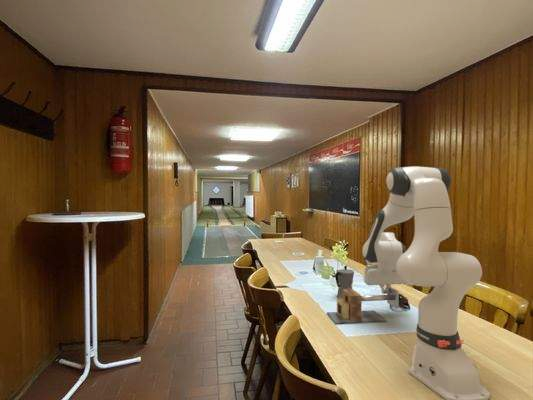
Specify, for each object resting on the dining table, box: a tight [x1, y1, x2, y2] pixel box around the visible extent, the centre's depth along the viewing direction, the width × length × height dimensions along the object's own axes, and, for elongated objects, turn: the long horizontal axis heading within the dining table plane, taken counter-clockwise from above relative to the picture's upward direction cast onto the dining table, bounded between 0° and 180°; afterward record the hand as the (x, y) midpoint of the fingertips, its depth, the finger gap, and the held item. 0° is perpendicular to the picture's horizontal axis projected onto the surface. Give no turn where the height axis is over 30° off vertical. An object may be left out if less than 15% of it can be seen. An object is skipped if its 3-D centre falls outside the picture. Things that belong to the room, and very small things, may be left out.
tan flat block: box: [336, 297, 349, 320], centre depth 142 cm, size 3×7×7 cm, turn 7°
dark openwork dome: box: [388, 293, 411, 310], centre depth 158 cm, size 12×10×8 cm
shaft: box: [361, 286, 400, 310], centre depth 144 cm, size 20×8×8 cm, turn 97°
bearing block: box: [326, 288, 387, 325], centre depth 143 cm, size 24×12×12 cm, turn 97°
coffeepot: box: [334, 265, 355, 299], centre depth 171 cm, size 15×9×18 cm, turn 129°
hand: (384, 293), depth 148 cm, fingers closed
